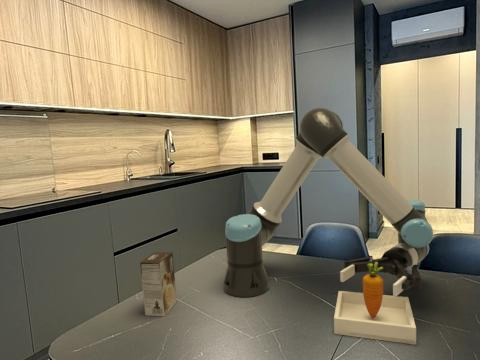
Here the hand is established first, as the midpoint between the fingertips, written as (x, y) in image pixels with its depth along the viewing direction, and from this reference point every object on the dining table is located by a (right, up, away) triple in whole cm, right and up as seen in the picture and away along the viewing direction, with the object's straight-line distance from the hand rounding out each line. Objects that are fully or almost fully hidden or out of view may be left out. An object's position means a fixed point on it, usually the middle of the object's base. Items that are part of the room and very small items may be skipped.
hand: (366, 283), depth 85 cm
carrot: (+3, -10, +4) cm, 11 cm away
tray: (+3, -11, +4) cm, 12 cm away
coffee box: (-55, -13, +17) cm, 59 cm away
